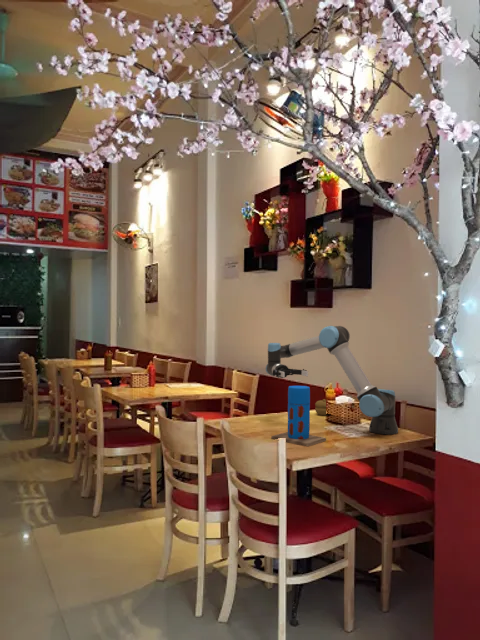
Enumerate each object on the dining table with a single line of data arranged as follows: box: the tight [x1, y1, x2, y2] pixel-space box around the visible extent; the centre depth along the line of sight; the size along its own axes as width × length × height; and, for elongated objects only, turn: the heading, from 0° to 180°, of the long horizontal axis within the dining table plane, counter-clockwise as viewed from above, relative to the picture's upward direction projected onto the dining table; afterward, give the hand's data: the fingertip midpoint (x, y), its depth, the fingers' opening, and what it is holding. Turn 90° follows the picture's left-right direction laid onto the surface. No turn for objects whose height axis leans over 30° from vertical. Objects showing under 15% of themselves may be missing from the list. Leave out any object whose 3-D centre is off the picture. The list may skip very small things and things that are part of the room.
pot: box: [314, 398, 327, 416], centre depth 330 cm, size 12×12×10 cm
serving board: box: [271, 431, 327, 447], centre depth 261 cm, size 22×16×2 cm
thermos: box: [287, 385, 311, 439], centre depth 261 cm, size 11×11×25 cm
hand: (295, 374), depth 279 cm, fingers open, 13 cm apart
